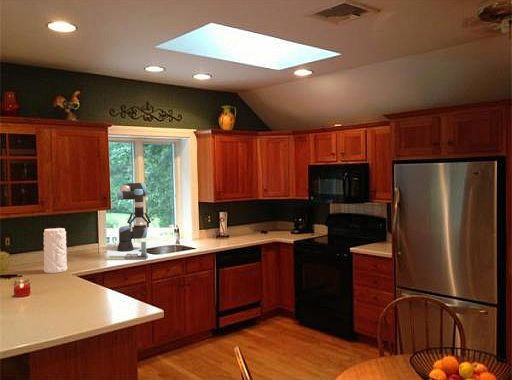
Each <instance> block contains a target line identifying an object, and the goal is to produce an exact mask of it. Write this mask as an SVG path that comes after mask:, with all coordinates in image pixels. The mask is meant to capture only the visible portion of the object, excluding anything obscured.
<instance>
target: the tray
mask: <svg viewBox="0 0 512 380" xmlns="http://www.w3.org/2000/svg"><path fill="white" fill-rule="evenodd" d="M124 257H126V255H109V256H106V257H105V258H104V260H105V261H125V260H124Z"/></svg>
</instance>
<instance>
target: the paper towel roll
mask: <svg viewBox="0 0 512 380" xmlns="http://www.w3.org/2000/svg"><path fill="white" fill-rule="evenodd" d="M42 244H43V251H44V252H43V263H44V266H43V269H42V270H43V273H47V274H54V273H55V274H56V273H63V272H66V271H67V270H68V265H67V261H68V259H67V258H68V257H67V254H68V252H67V231H66V228H64V227H63V228H62V227H56V228H44V232H43V243H42Z"/></svg>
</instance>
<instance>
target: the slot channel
mask: <svg viewBox="0 0 512 380" xmlns="http://www.w3.org/2000/svg"><path fill="white" fill-rule="evenodd" d="M148 258H149V255H148V254H147V255H141V254H140V255H139V254H138V257H124V260H123V261H146V260H147V259H148Z"/></svg>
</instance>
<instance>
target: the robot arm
mask: <svg viewBox="0 0 512 380" xmlns="http://www.w3.org/2000/svg"><path fill="white" fill-rule="evenodd" d="M147 191H148V190H147V186H146V183H145V182H127V183H125V184H123V185H121V186H120V187H119V190H118V191H117V192H116V198H117V200H118V201H119V200H120V201H124V200H126V201H127V200H128V201H129V200H130V201H131V200H132V201H133V200H134V202H133V205H134V209H133V210H134V212H133V211H132V212H130V215H129V217H128V219H127V222H126V223H127V224H128V225H123V226H120V227H119V228H118V245H117V250H118V252H130V251H134V249H135V248H134V245H133V242H132V240H136V239H137V240H140V239H147V235H148V232H149V227H150V224H151V223H152V221H151V219H150V217H149V215H148V212H145V198H146V197H147V196H146V195H148V192H147ZM134 221H135V222H134ZM133 222H134V224H133ZM117 250H116V251H117Z"/></svg>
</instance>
